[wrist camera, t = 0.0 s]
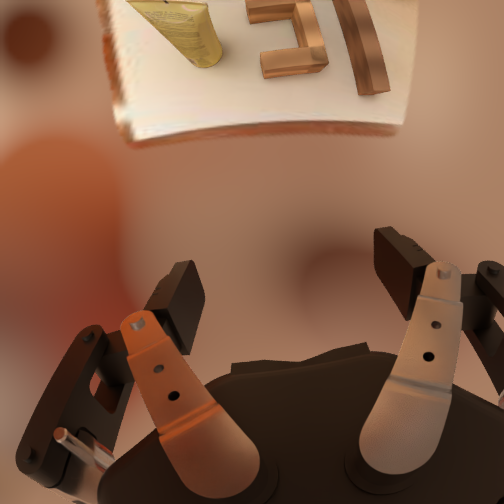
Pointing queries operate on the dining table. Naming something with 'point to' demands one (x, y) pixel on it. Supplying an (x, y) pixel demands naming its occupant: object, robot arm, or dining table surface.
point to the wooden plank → (362, 46)
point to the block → (307, 32)
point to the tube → (184, 27)
